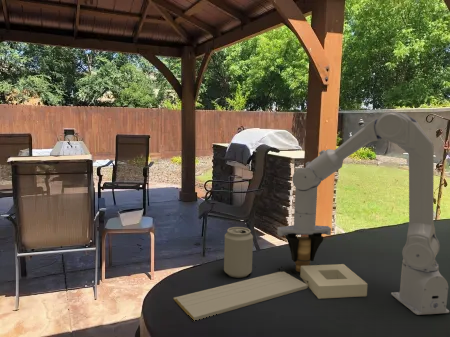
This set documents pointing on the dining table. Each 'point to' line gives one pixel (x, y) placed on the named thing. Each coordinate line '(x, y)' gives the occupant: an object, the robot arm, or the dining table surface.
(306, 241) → the oak peg
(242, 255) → the can
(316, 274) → the socket board
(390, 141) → the robot arm
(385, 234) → the dining table surface
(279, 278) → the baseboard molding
